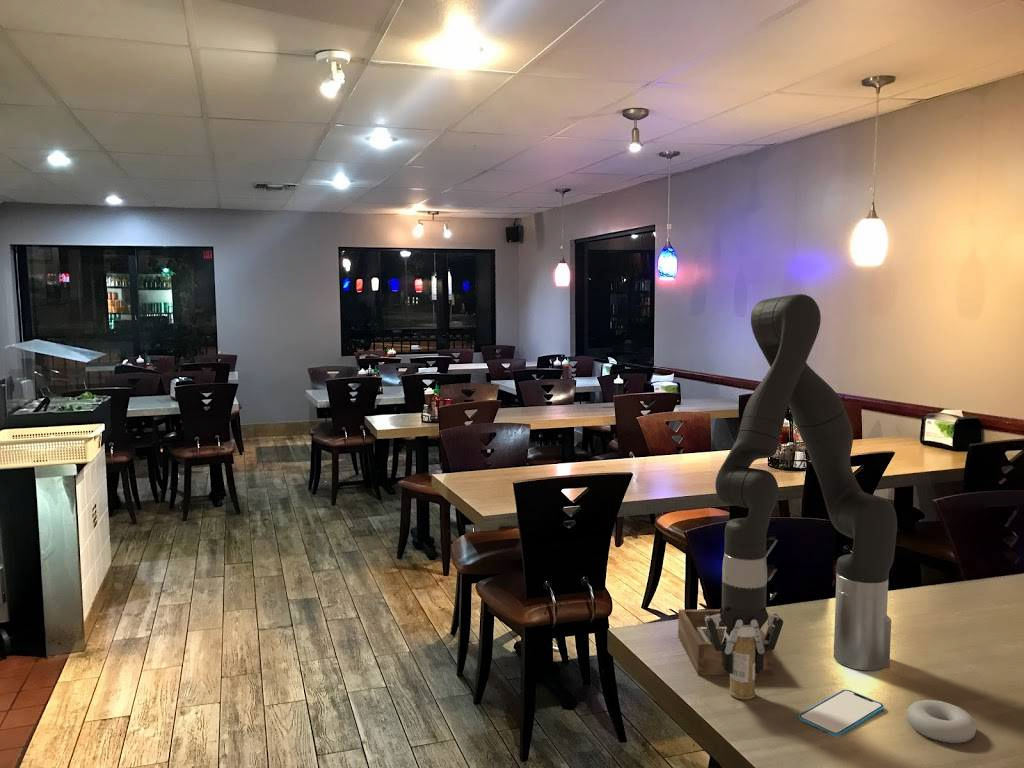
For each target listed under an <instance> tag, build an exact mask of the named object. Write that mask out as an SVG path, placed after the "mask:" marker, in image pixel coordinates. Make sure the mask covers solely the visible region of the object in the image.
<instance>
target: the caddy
mask: <svg viewBox="0 0 1024 768" xmlns="http://www.w3.org/2000/svg"><path fill="white" fill-rule="evenodd" d="M720 609H721V608H719V609H718V608H717V609H716V608H715V609H711V608H710V609H678V622H677V623H678V625H677V627H678V628H677V629H678V630H677V636H678V637H679V638H678V637H677V638H678V639H680V640H679V642H680V641H681V642H680V643H682V644H681V646H682V647H683V649H684V651H685V653H686V655H687V657H688V659H689V661H690V663H691V665H692V666H693V668H694V670H695V672H696V674H697V676H727V675H728V676H730V674H728V673H727V672H726V671H725V670H724V668H723V666H722V651H716V650H715V648H714V646H713V645H712V643H711V640H710V637H709V633H708V630H707V627H706V623H705V620H704V616H705V615H707V614H708V615H710V616H712V615H715V614H719V611H720ZM725 628H726V625H725V624H724V623H723V621H722V620H721V621H720V622H719V627H718V628H716V630H717V633H718V637H719V640H720V641H721V642H722V641H723V638H724V631H725ZM760 634H761V637H762V641H764V638H765V636H766V633H765V632H764V631H763V630H762V628H761V629H760ZM773 651H774V650H772V651H771V650H768V651H766V652H764V660H763V669H762V670H760V674H755V676H756V675H758V676H759V675H766V676H767V675H773V654H774V653H773Z"/></svg>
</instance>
